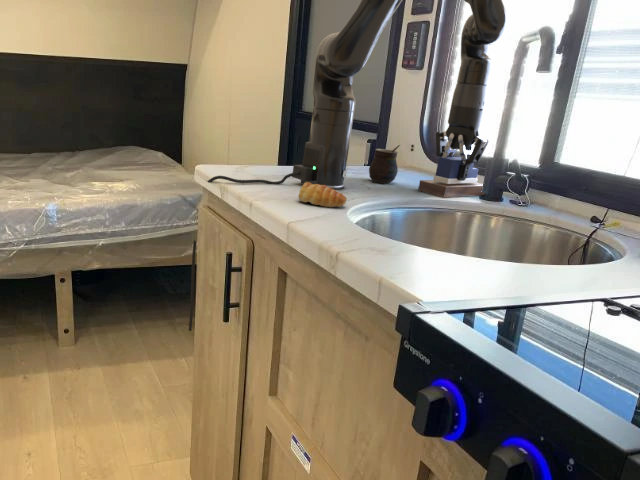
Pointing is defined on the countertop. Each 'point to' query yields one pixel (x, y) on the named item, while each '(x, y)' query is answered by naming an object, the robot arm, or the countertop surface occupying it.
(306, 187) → the pastry
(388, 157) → the mate gourd
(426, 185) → the shelf board
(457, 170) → the navy stepped block
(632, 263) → the countertop surface
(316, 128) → the robot arm
